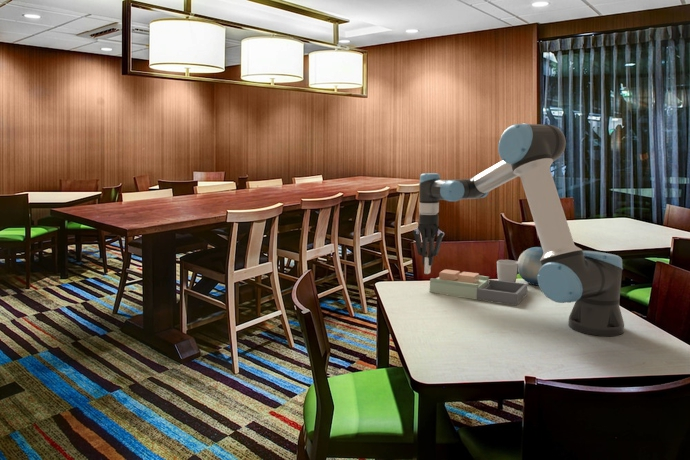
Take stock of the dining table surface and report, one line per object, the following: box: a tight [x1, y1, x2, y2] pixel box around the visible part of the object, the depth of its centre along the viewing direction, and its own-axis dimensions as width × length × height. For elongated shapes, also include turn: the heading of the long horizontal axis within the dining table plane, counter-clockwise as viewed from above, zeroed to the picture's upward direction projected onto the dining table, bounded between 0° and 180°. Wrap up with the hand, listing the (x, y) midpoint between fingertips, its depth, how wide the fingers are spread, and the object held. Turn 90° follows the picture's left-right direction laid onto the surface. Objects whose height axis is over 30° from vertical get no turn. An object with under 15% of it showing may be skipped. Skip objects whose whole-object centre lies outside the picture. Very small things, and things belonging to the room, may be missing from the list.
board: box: [429, 272, 490, 300], centre depth 198 cm, size 15×18×5 cm
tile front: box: [458, 271, 480, 284], centre depth 195 cm, size 6×6×3 cm
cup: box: [496, 259, 519, 283], centre depth 203 cm, size 8×8×10 cm
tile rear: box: [438, 269, 461, 281], centre depth 199 cm, size 6×6×3 cm
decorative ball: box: [517, 246, 544, 286], centre depth 206 cm, size 15×15×15 cm
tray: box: [476, 278, 528, 306], centre depth 189 cm, size 16×14×4 cm
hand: (427, 273), depth 204 cm, fingers closed
